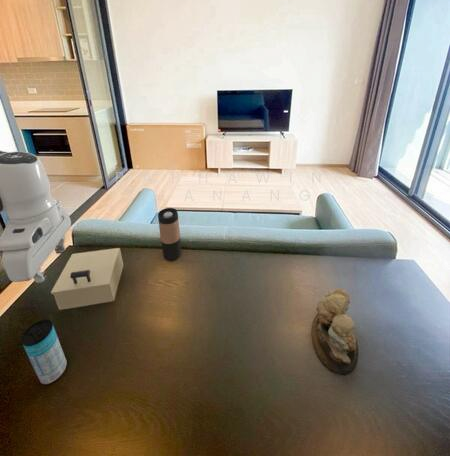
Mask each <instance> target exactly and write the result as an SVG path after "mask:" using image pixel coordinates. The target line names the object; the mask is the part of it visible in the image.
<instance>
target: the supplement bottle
mask: <svg viewBox="0 0 450 456" xmlns="http://www.w3.org/2000/svg"><path fill="white" fill-rule="evenodd" d="M20 341H21V344H22V347H23V348H24V351H25V353H26V356H27V358H28V359H29V362H30V364H31V366H32V368H33V370H34V372H35V375H36V376H37V378H38V381H39V383H41V384H42V385H50V384H53V383H55V382H56V381H58V380H59V379H60V378H61V377H62V376H63V374H65V371H66V368H67V364H68V363H67V361H68V360H67V359H66V356H65V353H64V350H63V348H62V345H61V342H60V340H59V337H58V335H57V332H56V329H55V327H54V324H53V322H52V320H50V319H41V320H38V321H36V322H35V323H33V324H31V325H30V326H29V327H28V328H27V329H26V330H25V331H24V332H23V334H22V336H21V339H20Z"/></svg>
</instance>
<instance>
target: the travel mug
mask: <svg viewBox="0 0 450 456" xmlns="http://www.w3.org/2000/svg"><path fill="white" fill-rule="evenodd" d="M157 221H158V228H159V236H160V245H161V250H162V254H163V259H164V260H166V261H168V262H174V261H176V260H178V259H180V257H181V255H182V245H181V244H182V243H181V241H182V240H181V230H180V221H179V213H178V210H177V209H176V208H174V207H166V208H163V209H161V210H159V211H158V213H157Z"/></svg>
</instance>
